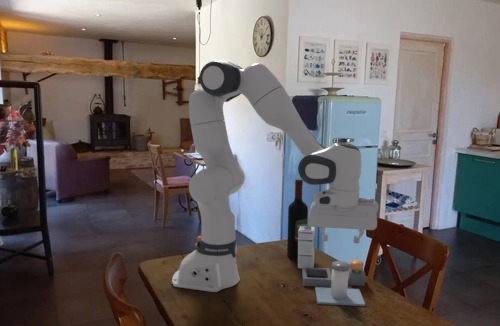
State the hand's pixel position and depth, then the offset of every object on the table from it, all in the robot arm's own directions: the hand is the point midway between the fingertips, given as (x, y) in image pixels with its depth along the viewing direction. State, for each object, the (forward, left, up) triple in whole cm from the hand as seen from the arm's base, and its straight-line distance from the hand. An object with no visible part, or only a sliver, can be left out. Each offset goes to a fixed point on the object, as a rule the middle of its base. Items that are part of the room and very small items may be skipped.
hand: (340, 241), depth 126 cm
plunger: (+7, +11, -17) cm, 22 cm away
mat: (0, 0, -18) cm, 18 cm away
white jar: (0, 0, -17) cm, 17 cm away
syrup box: (-9, +23, -18) cm, 31 cm away
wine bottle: (-12, +33, -18) cm, 40 cm away
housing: (0, +11, -18) cm, 21 cm away
